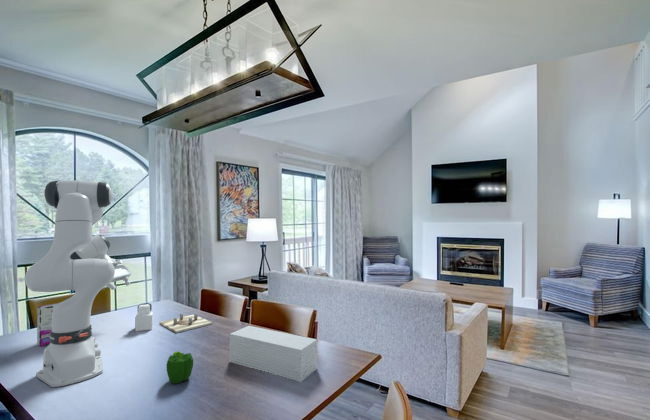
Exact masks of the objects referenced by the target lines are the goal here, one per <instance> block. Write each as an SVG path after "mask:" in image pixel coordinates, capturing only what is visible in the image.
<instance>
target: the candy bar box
mask: <svg viewBox="0 0 650 420" xmlns="http://www.w3.org/2000/svg"><path fill="white" fill-rule="evenodd" d="M59 303H60V302H57V303H56V302H55V303H51V304H46V305H39V306H37V309H36V310H37V311H36V312H37V313H36V314H37V317H36V318H37V324H36V325H37V326H36V331H37V332H36V339H37V340H36V345H37V346H38V347H39V348H40V347H44V346H45V347H46V346H49V344H50V343H51V342H50V338H49V337H50V331H51V330H52V311H53V309H54V308H55V306H57V305H58V304H59Z"/></svg>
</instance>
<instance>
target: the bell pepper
mask: <svg viewBox="0 0 650 420" xmlns="http://www.w3.org/2000/svg"><path fill="white" fill-rule="evenodd" d="M193 367H194V358H193V354H192V353H190V352H189V353H186V354H185V353H184V352H180V351H174V352H173V353H172V355H169V357H168V358H167V361H166V373H167V376H168V377H167V378H168V380H169V382H170V383H171V384H173V385H174V384H175V385H176V384H180V383H182V382H183V381H187V380H189V378H190V377H191V374H192V372H193Z"/></svg>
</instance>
